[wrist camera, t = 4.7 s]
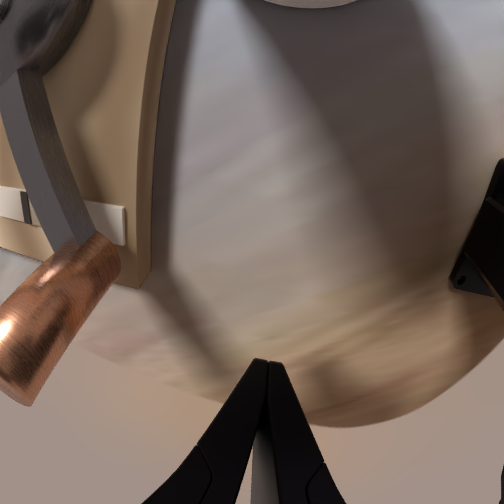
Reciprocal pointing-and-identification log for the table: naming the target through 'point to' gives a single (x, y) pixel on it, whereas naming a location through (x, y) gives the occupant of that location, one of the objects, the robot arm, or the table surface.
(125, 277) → the stand
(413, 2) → the table surface
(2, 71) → the lever
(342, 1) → the can
